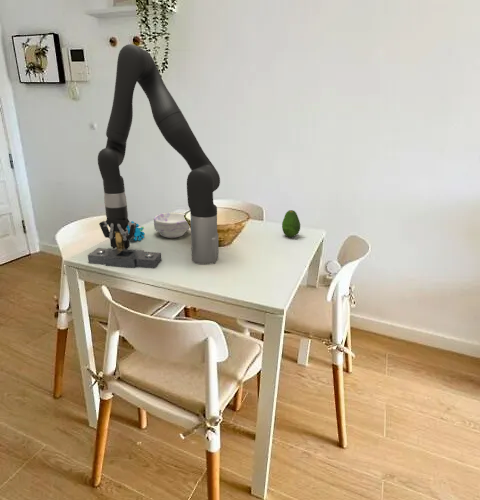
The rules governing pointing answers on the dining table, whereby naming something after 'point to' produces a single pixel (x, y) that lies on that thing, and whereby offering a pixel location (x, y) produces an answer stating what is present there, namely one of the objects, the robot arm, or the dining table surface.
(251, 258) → the dining table surface
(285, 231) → the avocado
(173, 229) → the paper bowls
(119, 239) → the pin
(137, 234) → the gear
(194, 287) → the dining table surface
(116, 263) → the grey block with hole
